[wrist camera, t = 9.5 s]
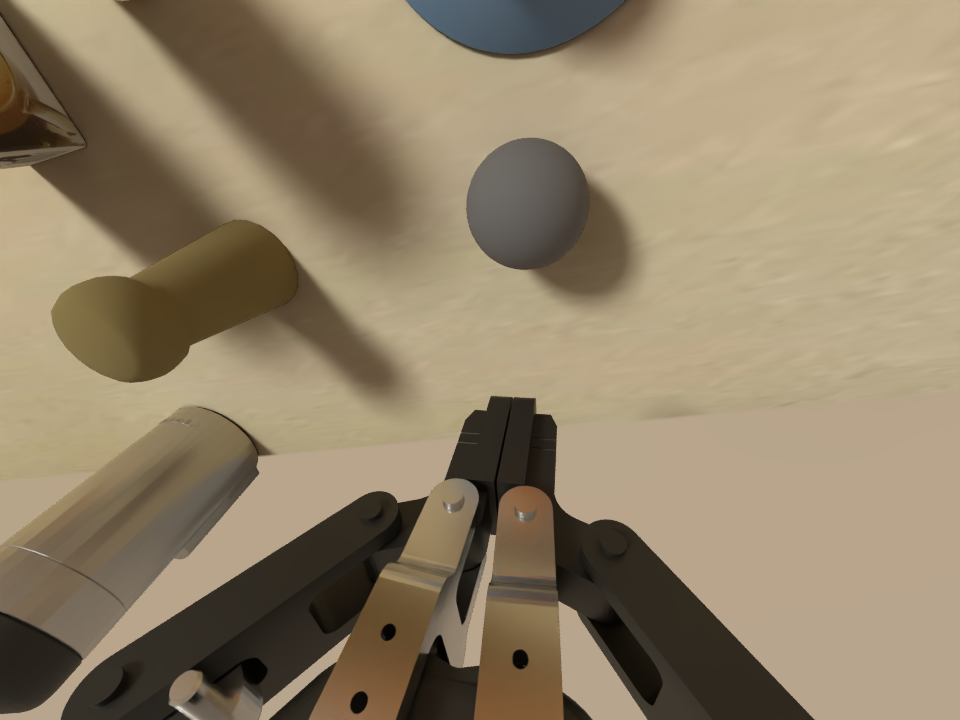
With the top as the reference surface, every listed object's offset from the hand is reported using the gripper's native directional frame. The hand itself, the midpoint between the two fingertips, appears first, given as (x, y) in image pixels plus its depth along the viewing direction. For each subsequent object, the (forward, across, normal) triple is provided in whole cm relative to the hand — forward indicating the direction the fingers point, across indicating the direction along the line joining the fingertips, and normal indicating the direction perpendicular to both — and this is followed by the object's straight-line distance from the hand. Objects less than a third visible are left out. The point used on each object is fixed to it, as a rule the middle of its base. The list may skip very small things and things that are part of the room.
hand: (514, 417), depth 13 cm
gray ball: (+9, 0, -5) cm, 10 cm away
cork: (+12, +19, -2) cm, 23 cm away
